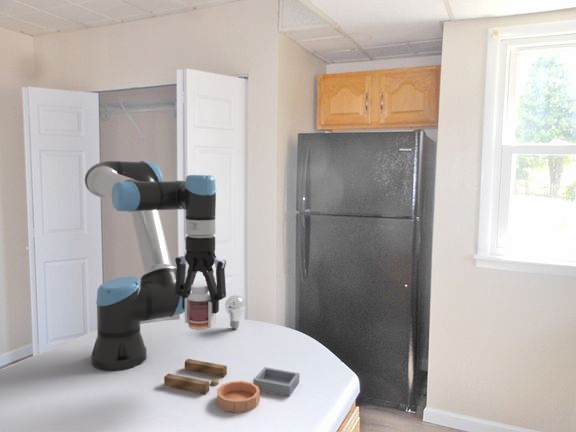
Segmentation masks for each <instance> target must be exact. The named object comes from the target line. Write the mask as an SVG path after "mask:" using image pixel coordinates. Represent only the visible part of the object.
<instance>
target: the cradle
mask: <svg viewBox="0 0 576 432" xmlns="http://www.w3.org/2000/svg"><path fill="white" fill-rule="evenodd" d="M227 369H228V367H227V365H225V364H218V363H213V362H208V361H202V360H197V359H191V358H187V359H186V360H185V361H184V371H188V372H193V373H198V374H203V375H209V376H213V377H218V378H224V377H226V376H227V374H228V373H227V371H228V370H227ZM163 378H164V379H163V381H164V382H163V384H164V387H168V388H173V389H176V390H182V391H187V392H192V393H197V394H202V395H207V394H209V392H210V385H211V386H218V385H219V380H218V379H213V380H211V381H208V380H203V379H200V378H199V379H197V378H193V377H189V376H183V375H179V374H178V375H177V374H172V373H167V374H165V375H164V377H163Z"/></svg>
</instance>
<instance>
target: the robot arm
mask: <svg viewBox="0 0 576 432" xmlns="http://www.w3.org/2000/svg"><path fill="white" fill-rule="evenodd" d="M84 184H85V187H86V189H87V190H88V191H89V192H90V193H91V194H92V195H94V196H97V197H99V198H108V199H110V200H111V201H112V205H113V208H114V209H115V210H116V211H117V212H127V213H128V212H129V213H131V217H132V222H133V227H134V231H135V236H136V240H137V246H138V250H139V255H140V258H141V263H142V268H143V273H142V275H141V276H140V278H138V277H136V276H127V277H126V276H124V277H123V276H122V277H117V278H113V279H110V280H107V281H105V282H103V283H102V284H101V285H99V287H98V288H97V291H96V301H95V304H96V320H97V321H96V323H97V325H96V327H97V329H96V330H97V336H96V338H95V339H96V340H95V343H94V345H93V349H92V352H91V354H90V355H91V356H90V357H91V359H90V361H91V366H93V367H94V368H96V369H97V370H98V369H99V370H102V371H103V370H104V371H121V370H122V371H123V370H126V369H130V368H134V367H136V366H139V365H140V364H142V363H144V362H145V361H146V359H147V355H148V354H147V347H146V345H145V343H144V339H143V336H142V334H141V322H147V321H151V320H157V319H164V318H168V317H170V318H172V317H174V316H178V315H182V314H184V324H188V296H189V294H190V293H192V291H191V285H192V284H195V283H194V281H195V279H196V277H197V274H198V272H199V273H202V275H203V277H204V278H205V284H207V287H208V290H209V291H208V292H209V294H210V297H211V300H210V301H209V302H208V326H209V327H210V328H211V327H213V326H215V325H216V324H217V313H219V311H220V301H221V300H223V299H225V298H226V297H227V290H226V273H225V268H226V265H227V261H226V260H225V259H222V260H221V259H219V258H217V256H216V253H215V252H216V237H215V236H214V235H216V207H217V205H216V201H217V199H216V198H217V188H216V178H215V177H214V176H213V175H209V174H208V175H207V174H205V175H203V174H188V175H187V176H186V177H185V180H175V181H173V180H172V181H171V180H170V181H164V179H163V174H162V171H161V169H160V168H159V166H158V165H157V164H156V163H153V162H150V161H144V160H142V161H141V160H140V161H120V160H119V161H118V160H116V161H115V160H108V161H107V160H106V161H101V162H98V163H96V164H94V165H92V166H91V167H89V169H88V170H87V171H86V173H85V175H84ZM167 210H168V211H173V210H183V211H185V235H187V236H186V237H185V251H186V252H185V255H180V256H177V257H176V258H175V260H174V261H175V265H176V266H174V265H173V263H172V259H171V256H170V250H169V247H168V244H167V238H166V236H165V230H164V226H163V222H162V218H161V214H160V211H167ZM186 264H187V265H188V267H187V268H188V269H187V272H186V266H187V265H186ZM213 266H214V267H215V271H214V268H213ZM214 272H215V276H214ZM186 273H187V274H186Z"/></svg>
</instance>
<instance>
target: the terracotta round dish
mask: <svg viewBox="0 0 576 432" xmlns="http://www.w3.org/2000/svg"><path fill="white" fill-rule="evenodd" d="M260 394H261V391H260V390H259V387H258V386H256V385H255V384H253V382H249V381H245V380H232V381H228V382H226V383H223V384H221V385H220V386H219V387H218V388H217V389H216V401H217V402H216V403H217V407H219V408H220V409H221V410H223V411H226V412H231V413H244V412H245V413H246V412H249V411H251V410H253V409H255V408H257V406H258V405H259V403H260V398H261V396H260Z"/></svg>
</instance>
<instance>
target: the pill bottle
mask: <svg viewBox="0 0 576 432" xmlns="http://www.w3.org/2000/svg"><path fill="white" fill-rule="evenodd" d="M210 300H211V297H210V294H209V290H208V287H207V283H206V282H199V283H198V282H197V283H193V284H192V285H191V292H190V294H189V296H188V323H187V324H188V325H187V326H188V328H189V329H192V330H195V331H202V330H206V329H207V330H208V329H210V328H211V327H209V326H208V302H209V301H210Z"/></svg>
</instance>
